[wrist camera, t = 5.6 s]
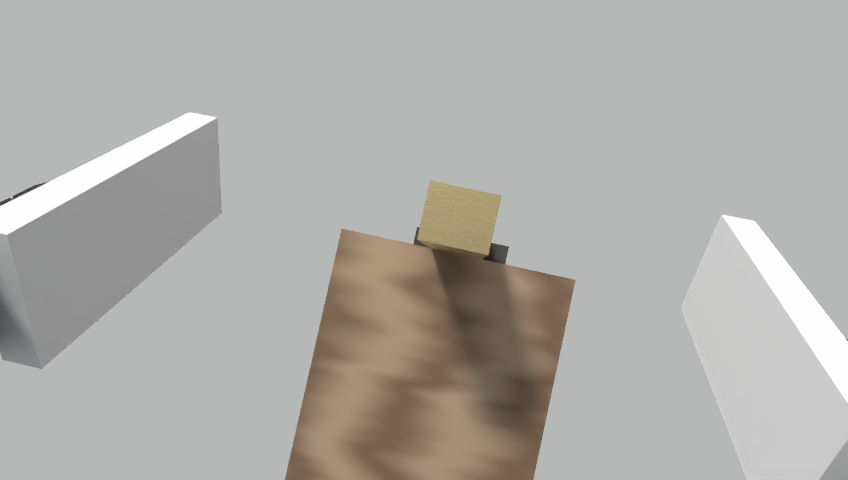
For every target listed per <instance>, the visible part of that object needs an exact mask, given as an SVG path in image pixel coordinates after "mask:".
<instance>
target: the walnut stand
mask: <svg viewBox="0 0 848 480" xmlns="http://www.w3.org/2000/svg"><path fill="white" fill-rule="evenodd" d="M419 228H420V227H417V231H416V235H415V240H414V244H409V243H404V242H400V241H394V240H390V239H386V238H381V237H377V236H372V235H367V234H363V233H359V232H354V231H349V230H345V229H342V230H341V234H340V239H339V243H338V248H337V252H336V257H335V261H334V266H333V270H332V274H331V279H330V283H329V287H328V292H327V296H326V301H325V305H324V310H323V314H322V319H321V323H320V327H319V332H318V336H317V340H316V345H315V350H314V354H313V358H312V363H311V367H310V371H309V376H308V380H307V385H306V389H305V394H304V398H303V402H302V407H301V411H300V416H299V420H298V424H297V429H296V434H295V438H294V442H293V447H292V451H291V456H290V460H289V464H288V469H287V474H286V477H285V480H533V478H534V473H535V468H536V464H537V459H538V454H539V450H540V445H541V440H542V435H543V431H544V426H545V421H546V416H547V412H548V407H549V402H550V398H551V393H552V388H553V383H554V379H555V374H556V369H557V364H558V360H559V354H560V350H561V345H562V341H563V336H564V331H565V326H566V322H567V317H568V312H569V307H570V303H571V298H572V293H573V288H574V284H575V280H573V279H569V278H564V277H559V276H555V275H550V274H546V273H541V272H536V271H532V270H528V269H523V268H518V267H513V266H509V265H505V262H506V257H507V253H508V248H509V247H507V246H503V245H498V244H493V243H491V245H490V250H489V255H488V256H486V257H485V258H483V260H482V259H477V258H473V257H468V256H464V255H459V254H454V253H450V252H445V251H441V250H436V249H432V248H430V247H428V246H427V245H425V244H423V243H422V242H420V241H419V240H417V237H418V233H419Z"/></svg>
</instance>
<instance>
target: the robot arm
mask: <svg viewBox="0 0 848 480" xmlns="http://www.w3.org/2000/svg"><path fill="white" fill-rule="evenodd" d="M217 123H218V122H217V118H216V117H211V116H206V115H200V114H196V113H187V114H185V115H183V116H181V117H179V118H177V119H175V120H173V121H171V122H169V123H167V124H165V125H163V126H161V127H159V128H157V129H155V130H153V131H151V132H149V133H147V134H145V135H143V136H141V137H139V138H137V139H135V140H133V141H131V142H129V143H127V144H125V145H123V146H121V147H118V148H117V149H114V150H113V151H111V152H108V153H106V154H104V155H102V156H100V157H98V158H96V159H94V160H92V161H90V162H88V163H86V164H84V165H82V166H80V167H78V168H76V169H74V170H72V171H70V172H68V173H66V174H64V175H62V176H60V177H58V178H56V179H54V180H52V181H50V182H46V183H42V184H39V185H35V186H33V187H31V188H28V189H26V190H25V191H23V192H20V193H18V194H16V195H14V196H13V199H11V198H8V199H6V200H4V201H2V202H0V353H1V356H2V359H3V360H7V361H11V362H15V363H19V364H23V365H27V366H32V367H36V368H40V369H42V368H43V367H44V366H45V365H46V364H47V363H49V362H50V361H51V360H52V359H53V358H54V357H55V356H57V355H58V354H59V353H60V352H61V351H63V350H64V349H65V348H66V347H67V346H68V345H69V344H70V343H72V342H73V341H74V340H75V339H76V338H78V337H79V336H80V335H81V334H82V333H83V332H85V331H86V330H87V329H88V328H89V327H90V326H92V325H93V324H94V323H95V322H96V321H97V320H98V319H100V318H101V317H102V316H103V315H104V314H105V313H107V312H108V311H109V310H110V309H111V308H112V307H114V306H115V305H116V304H117V303H118V302H119V301H120V300H122V299H123V298H124V297H125V296H126V295H127V294H128V293H130V292H131V291H132V290H133V289H134V288H135V287H137V286H138V285H139V284H140V283H141V282H142V281H144V279H146V278H147V277H148V276H149V275H150V274H152V273H153V272H154V271H155V270H156V269H157V268H159V267H160V266H161V265H162V264H163V263H164V262H165V261H167V260H168V259H169V258H170V257H171V256H172V255H174V254H175V253H176V252H177V251H178V250H179V249H180V248H182V247H183V246H184V245H185V244H186V243H187V242H188V241H189V240H191V239H192V238H193V237H194V236H196V235H197V234H198V233H199V232H200V231H201V230H202V229H204V228H205V227H206V226H207V225H208V224H209V223H211V222H212V220H214V219H215V218H216V217H217V216H219V215H220V214H221V213H222V211H221V189H220V166H219V144H218V124H217ZM681 311H682V313H683V316H684V319H685V321H686V324H687V326H688V329H689V331H690V334H691V337H692V339H693V342H694V344H695V347H696V350H697V352H698V355H699V357H700V360H701V362H702V365H703V368H704V370H705V373H706V375H707V378H708V381H709V383H710V385H711V388H712V391H713V393H714V396H715V399H716V401H717V404H718V406H719V409H720V412H721V414H722V417H723V419H724V422H725V424H726V427H727V430H728V432H729V435H730V437H731V440H732V443H733V445H734V448H735V450H736V453H737V455H738V458H739V461H740V463H741V466H742V468H743V471H744V473H745V476H746V478H747V480H848V340H847V339H845V338H844V336H843V335H842V333H841V332H840V331H839V329H838V328H837V327H836V326H835V324H834V323H833V322H832V320H831V319H830V318H829V317H828V315H827V314H826V313H825V312H824V310H823V309H822V307H821V306H820V305H819V304H818V302H817V301H816V300H815V298H814V297H813V296H812V294H811V293H810V292H809V291H808V289H807V288H806V287H805V285H804V284H803V283H802V282H801V280H800V279H799V278H798V276H797V275H796V274H795V273H794V271H793V270H792V269H791V267H790V266H789V265H788V264H787V262H786V261H785V260H784V258H783V257H782V256H781V254H780V253H779V252H778V251H777V249H776V248H775V247H774V245H773V244H772V243H771V241H770V240H769V239H768V237H767V236H766V235H765V234H764V232H763V231H762V230H761V228H760V227H759V226H758V225H757V223H756V222H755V221H752V220H747V219H742V218H736V217H732V216H726V215H721V217H720V220H719V222H718V224H717V226H716V228H715V231H714V233H713V235H712V238H711V240H710V242H709V245H708V247H707V249H706V252H705V254H704V256H703V258H702V260H701V263H700V265H699V267H698V270H697V272H696V274H695V277H694V279H693V281H692V283H691V286H690V288H689V290H688V293H687V295H686V297H685V300H684V302H683V304H682V306H681Z"/></svg>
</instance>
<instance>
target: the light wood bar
mask: <svg viewBox="0 0 848 480" xmlns="http://www.w3.org/2000/svg"><path fill="white" fill-rule="evenodd" d="M500 199H501V195H496V194H491V193H486V192H481V191H477V190H472V189H467V188H462V187H458V186H453V185H448V184H443V183H438V182H433V181H430V183H429V188H428V192H427V197H426V201H425V206H424V210H423V215H422V219H421V224H420V228H419V233H418V237H417V240H419V241H420V242H422V243H423V244H425V245H427V246H428V247H430V248H432V249H436V250H441V251H445V252H450V253H454V254H459V255H464V256H468V257H473V258H477V259H483V258H485V257H486V256H488V255H489V250H490V245H491V241H492V236H493V232H494V227H495V222H496V217H497V213H498V209H499V204H500Z"/></svg>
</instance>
